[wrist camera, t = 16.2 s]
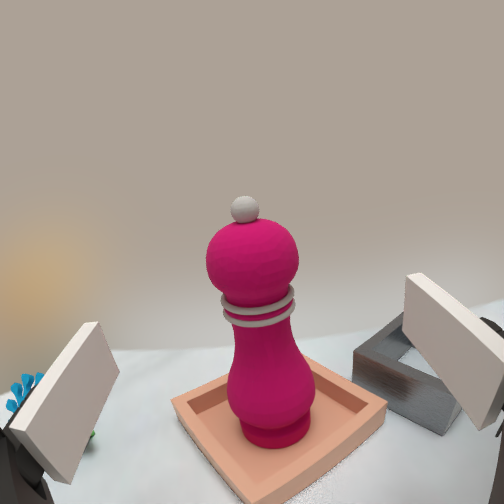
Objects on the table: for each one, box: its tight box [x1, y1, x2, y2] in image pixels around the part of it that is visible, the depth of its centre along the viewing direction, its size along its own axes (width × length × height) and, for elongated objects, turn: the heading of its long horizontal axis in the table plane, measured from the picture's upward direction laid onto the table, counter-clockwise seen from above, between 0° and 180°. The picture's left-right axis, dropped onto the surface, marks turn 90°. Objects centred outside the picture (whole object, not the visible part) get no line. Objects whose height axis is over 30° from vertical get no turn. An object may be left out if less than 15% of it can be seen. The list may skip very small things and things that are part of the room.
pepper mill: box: [206, 196, 315, 449], centre depth 22 cm, size 7×7×20 cm
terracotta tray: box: [171, 353, 388, 504], centre depth 25 cm, size 14×14×3 cm
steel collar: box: [352, 312, 462, 436], centre depth 26 cm, size 11×11×5 cm
